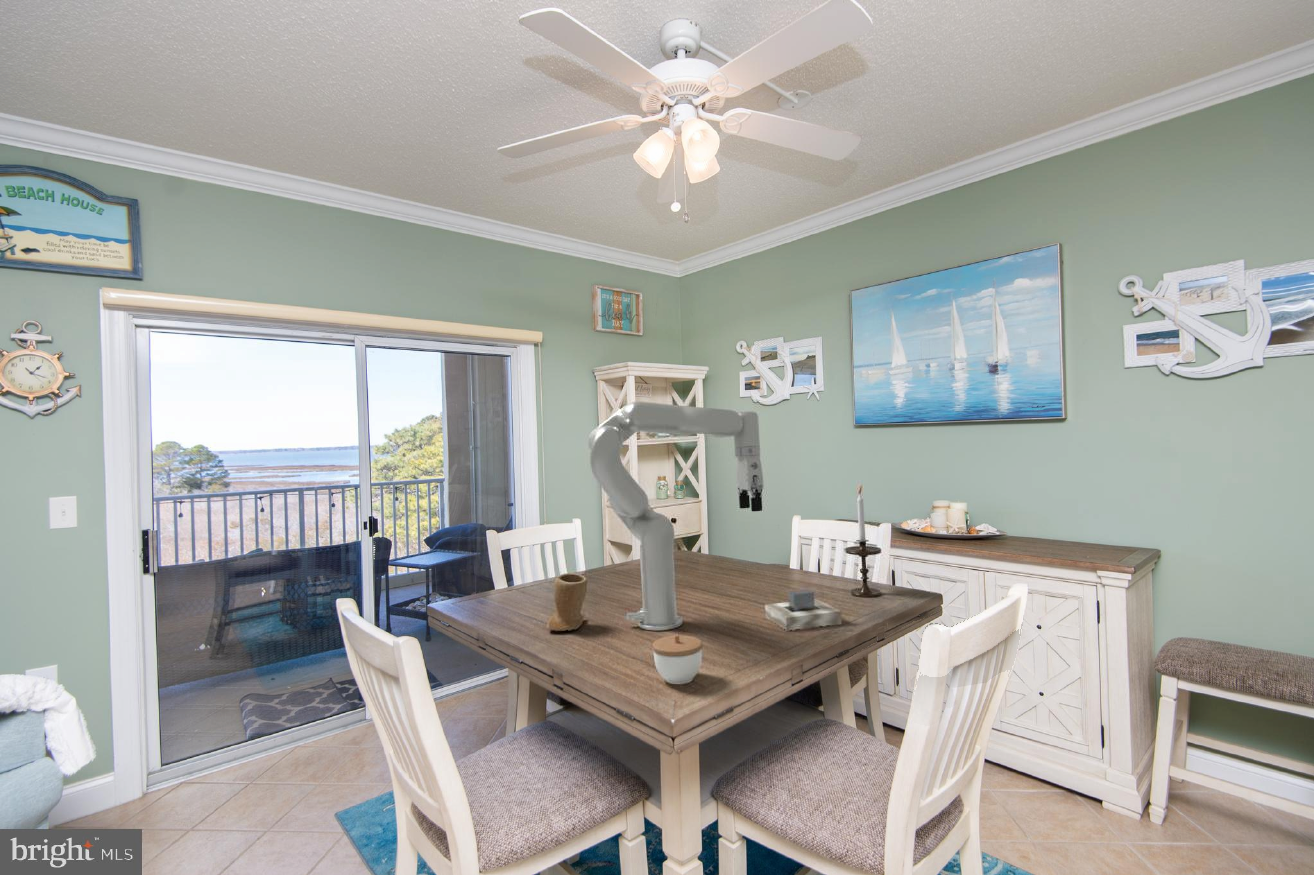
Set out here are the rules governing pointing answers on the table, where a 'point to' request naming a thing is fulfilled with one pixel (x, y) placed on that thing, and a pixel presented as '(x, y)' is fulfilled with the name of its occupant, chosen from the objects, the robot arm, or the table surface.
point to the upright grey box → (801, 600)
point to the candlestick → (863, 554)
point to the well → (802, 616)
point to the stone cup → (568, 602)
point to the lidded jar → (678, 658)
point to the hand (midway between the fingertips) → (750, 509)
